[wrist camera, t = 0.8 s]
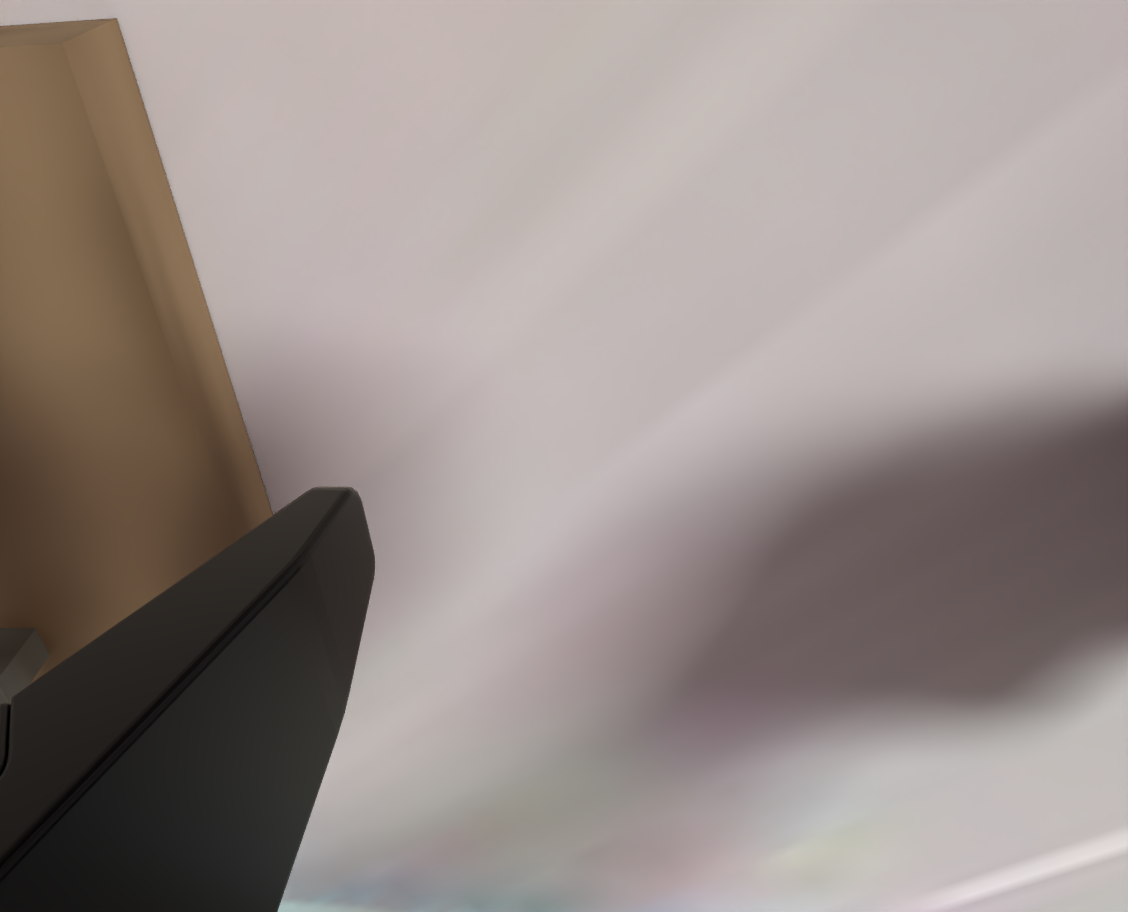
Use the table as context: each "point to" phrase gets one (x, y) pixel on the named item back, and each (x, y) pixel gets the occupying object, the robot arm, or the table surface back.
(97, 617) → the switch box
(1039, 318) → the table surface
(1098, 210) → the table surface
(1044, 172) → the table surface
